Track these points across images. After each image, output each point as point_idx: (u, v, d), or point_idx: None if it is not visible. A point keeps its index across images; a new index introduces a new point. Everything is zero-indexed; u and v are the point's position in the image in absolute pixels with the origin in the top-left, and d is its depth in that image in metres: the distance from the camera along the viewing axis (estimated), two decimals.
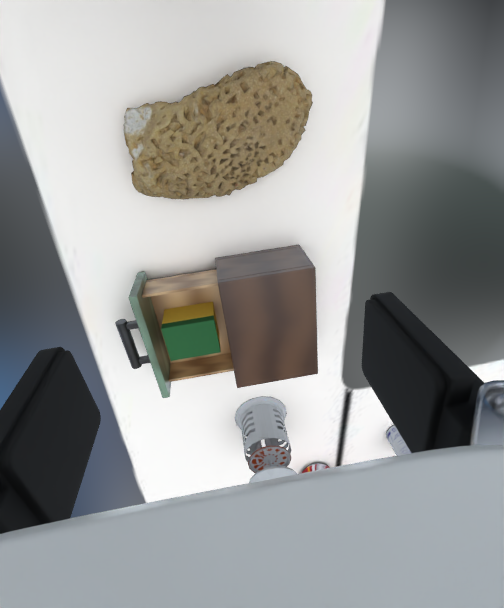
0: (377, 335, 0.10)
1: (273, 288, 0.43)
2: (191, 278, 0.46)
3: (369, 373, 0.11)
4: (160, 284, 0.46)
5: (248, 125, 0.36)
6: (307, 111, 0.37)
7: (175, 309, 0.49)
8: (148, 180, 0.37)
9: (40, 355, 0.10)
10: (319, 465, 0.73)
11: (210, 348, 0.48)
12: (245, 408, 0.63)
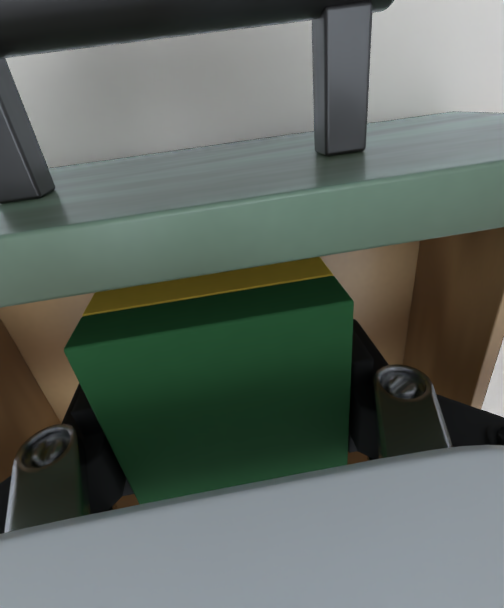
0: None
1: None
2: None
3: None
4: None
5: None
6: None
7: None
8: None
9: None
10: None
11: None
12: None
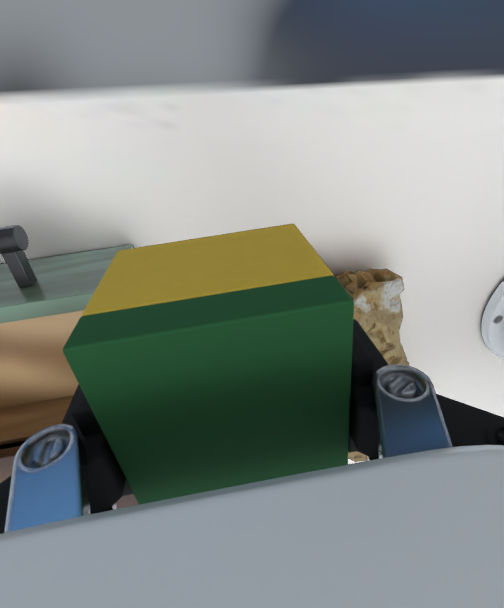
0: None
1: None
2: None
3: None
4: None
5: None
6: (366, 459, 0.34)
7: None
8: None
9: None
10: None
11: None
12: None
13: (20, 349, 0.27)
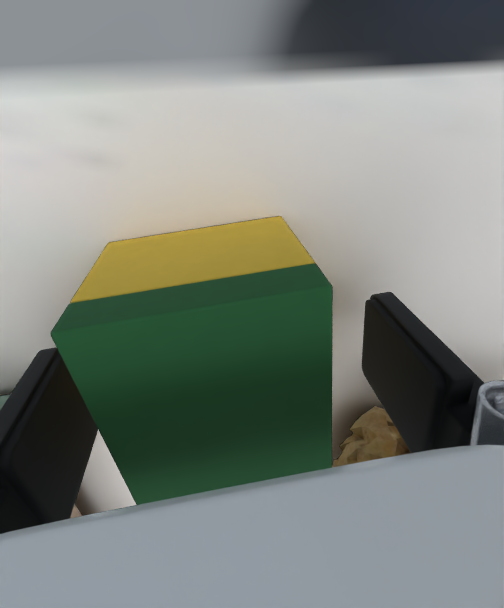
0: (377, 335, 0.10)
1: None
2: None
3: (368, 373, 0.11)
4: None
5: None
6: None
7: None
8: None
9: (40, 355, 0.10)
10: None
11: None
12: None
13: None
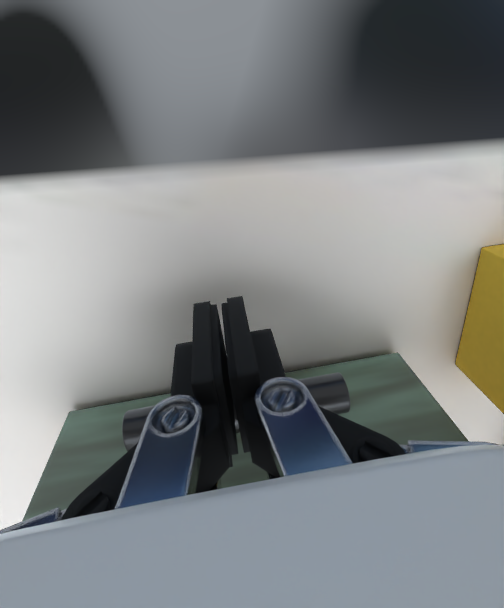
0: None
1: None
2: None
3: None
4: None
5: None
6: None
7: None
8: None
9: (197, 307, 0.11)
10: None
11: None
12: None
13: None
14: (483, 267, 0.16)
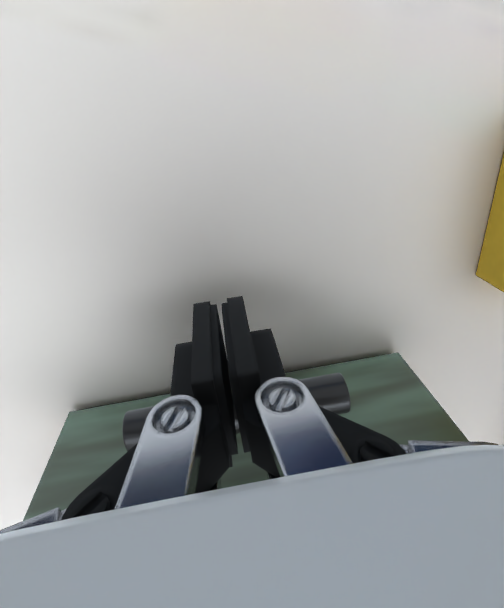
0: None
1: None
2: None
3: None
4: None
5: None
6: None
7: None
8: None
9: (197, 307, 0.11)
10: None
11: None
12: None
13: None
14: None
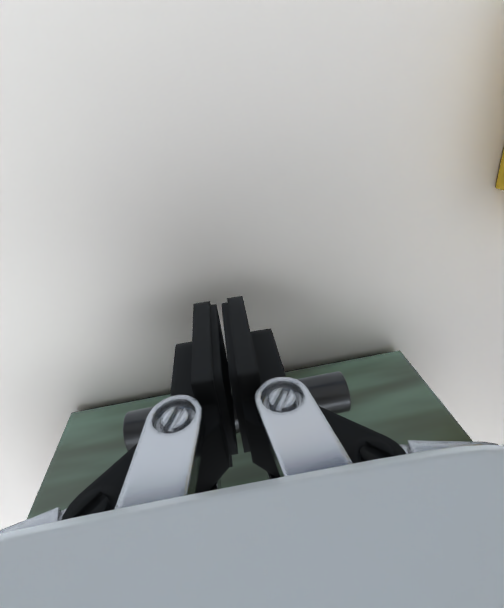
0: None
1: None
2: None
3: None
4: None
5: None
6: None
7: None
8: None
9: (197, 307, 0.11)
10: None
11: None
12: None
13: None
14: None
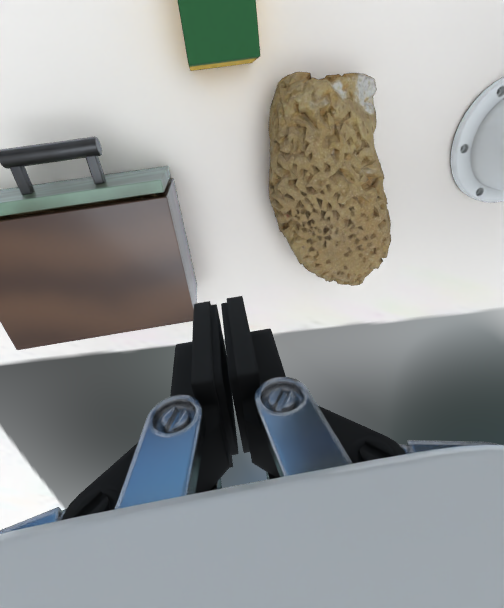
0: None
1: (162, 275, 0.31)
2: None
3: None
4: None
5: (349, 229, 0.34)
6: (348, 283, 0.38)
7: None
8: (306, 100, 0.28)
9: (197, 307, 0.11)
10: None
11: (199, 43, 0.26)
12: None
13: None
14: None
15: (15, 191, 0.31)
